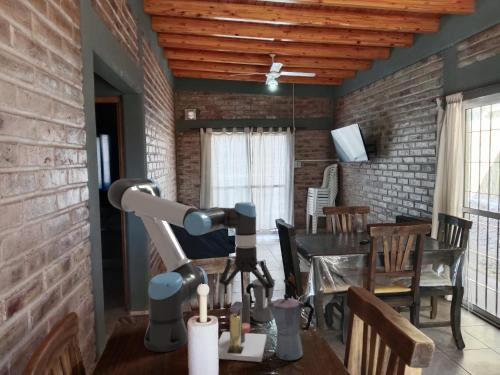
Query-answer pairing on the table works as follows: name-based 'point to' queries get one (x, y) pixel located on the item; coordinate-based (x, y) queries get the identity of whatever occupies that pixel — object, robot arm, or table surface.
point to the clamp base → (243, 347)
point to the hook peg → (235, 333)
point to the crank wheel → (246, 314)
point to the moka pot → (289, 326)
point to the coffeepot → (260, 302)
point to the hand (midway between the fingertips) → (246, 304)
